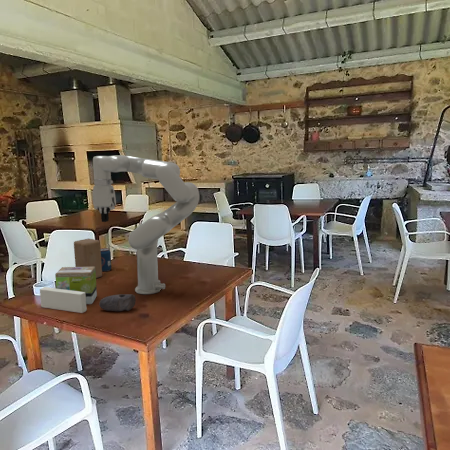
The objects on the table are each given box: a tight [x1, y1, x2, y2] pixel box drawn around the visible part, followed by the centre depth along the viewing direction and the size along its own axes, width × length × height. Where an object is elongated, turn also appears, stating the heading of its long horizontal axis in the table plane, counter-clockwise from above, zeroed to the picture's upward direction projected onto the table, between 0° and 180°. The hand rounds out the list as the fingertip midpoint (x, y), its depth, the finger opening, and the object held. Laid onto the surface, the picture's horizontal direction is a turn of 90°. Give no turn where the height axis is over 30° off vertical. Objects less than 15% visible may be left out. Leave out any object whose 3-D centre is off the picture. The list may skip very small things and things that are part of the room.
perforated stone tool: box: [98, 293, 136, 312], centre depth 167 cm, size 15×5×7 cm, turn 88°
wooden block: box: [73, 238, 103, 279], centre depth 210 cm, size 10×10×20 cm
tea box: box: [55, 266, 98, 305], centre depth 177 cm, size 15×10×15 cm, turn 96°
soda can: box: [100, 247, 112, 272], centre depth 223 cm, size 7×7×12 cm
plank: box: [39, 286, 88, 314], centre depth 168 cm, size 21×3×8 cm, turn 71°
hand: (105, 221), depth 189 cm, fingers closed
